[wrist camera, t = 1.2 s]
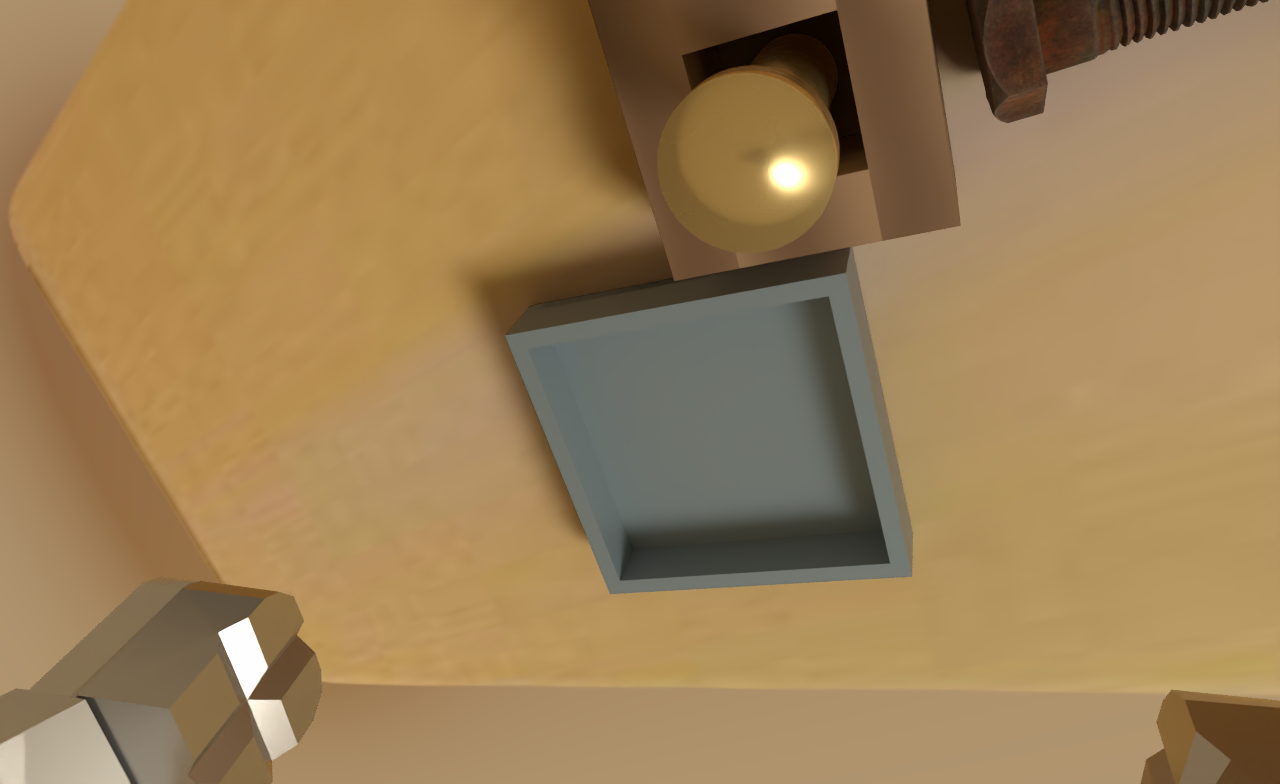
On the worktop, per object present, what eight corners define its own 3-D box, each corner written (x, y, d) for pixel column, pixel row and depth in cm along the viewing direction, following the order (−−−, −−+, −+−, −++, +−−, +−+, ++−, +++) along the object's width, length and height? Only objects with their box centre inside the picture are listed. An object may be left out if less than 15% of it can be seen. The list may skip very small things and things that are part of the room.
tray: (851, 243, 36) (846, 273, 33) (912, 533, 42) (912, 576, 39) (529, 306, 41) (504, 335, 39) (626, 555, 47) (610, 593, 45)
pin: (845, -8, 31) (814, 52, 22) (871, 127, 33) (852, 234, 24) (715, 31, 33) (634, 101, 24) (747, 157, 35) (684, 267, 26)
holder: (910, -115, 29) (908, -110, 25) (955, 179, 33) (960, 225, 29) (628, -22, 33) (586, -3, 29) (701, 233, 37) (674, 280, 33)
